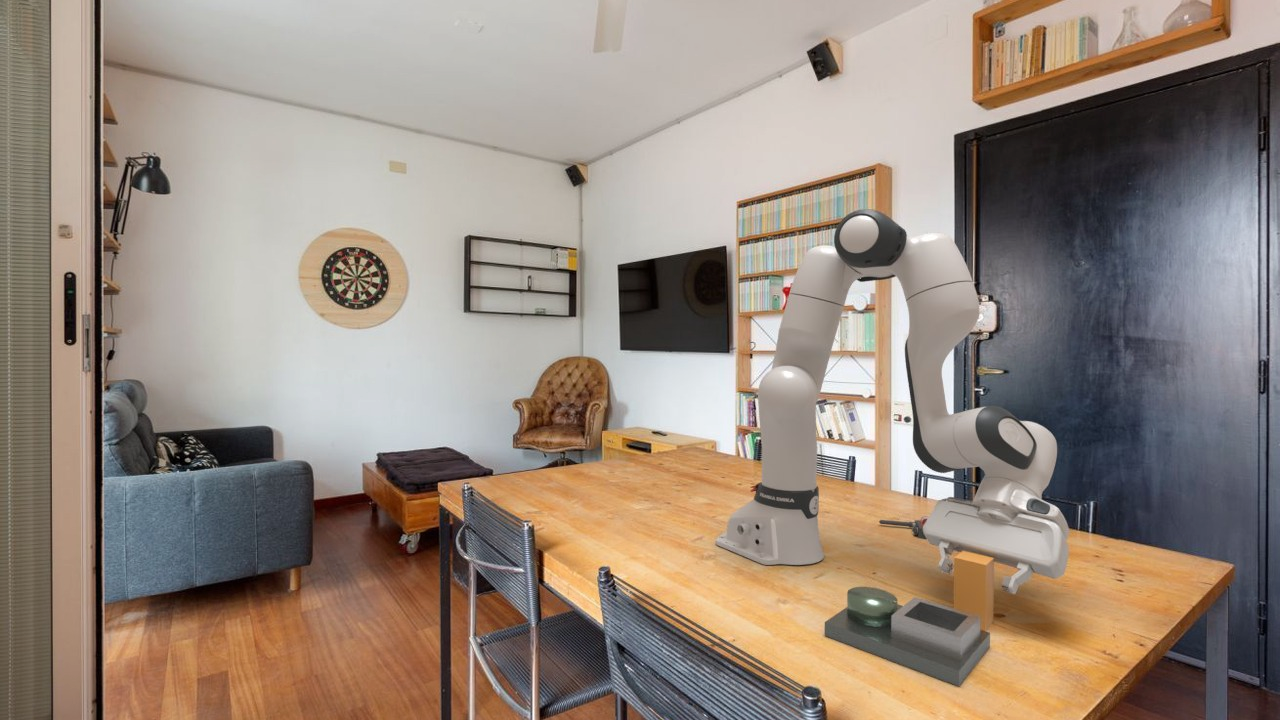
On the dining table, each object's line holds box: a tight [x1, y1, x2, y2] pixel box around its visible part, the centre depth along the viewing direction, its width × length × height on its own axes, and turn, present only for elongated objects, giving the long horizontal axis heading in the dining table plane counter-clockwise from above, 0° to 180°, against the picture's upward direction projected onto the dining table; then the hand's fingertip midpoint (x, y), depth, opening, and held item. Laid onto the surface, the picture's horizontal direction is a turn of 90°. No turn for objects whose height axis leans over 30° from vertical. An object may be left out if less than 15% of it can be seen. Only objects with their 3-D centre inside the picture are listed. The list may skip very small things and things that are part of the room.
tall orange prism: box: [952, 551, 995, 632], centre depth 90 cm, size 4×4×10 cm
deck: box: [824, 586, 991, 687], centre depth 83 cm, size 18×14×5 cm
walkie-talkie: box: [878, 515, 929, 540], centre depth 133 cm, size 9×4×20 cm
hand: (974, 580), depth 90 cm, fingers open, 8 cm apart
